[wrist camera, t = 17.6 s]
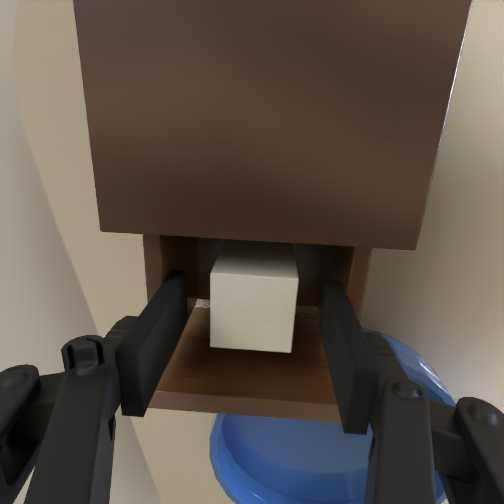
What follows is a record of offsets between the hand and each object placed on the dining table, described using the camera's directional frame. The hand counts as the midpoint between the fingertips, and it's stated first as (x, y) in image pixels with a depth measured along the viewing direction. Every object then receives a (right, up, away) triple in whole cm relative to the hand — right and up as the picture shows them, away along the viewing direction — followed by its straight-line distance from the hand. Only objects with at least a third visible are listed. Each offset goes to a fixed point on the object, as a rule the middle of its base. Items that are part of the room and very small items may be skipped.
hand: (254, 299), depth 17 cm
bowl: (+7, -13, +13) cm, 19 cm away
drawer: (0, +2, +7) cm, 7 cm away
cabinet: (+1, +13, +4) cm, 13 cm away
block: (0, +2, +6) cm, 6 cm away
